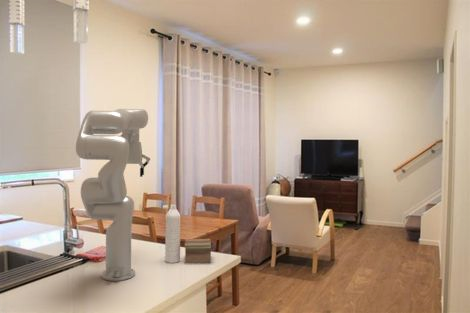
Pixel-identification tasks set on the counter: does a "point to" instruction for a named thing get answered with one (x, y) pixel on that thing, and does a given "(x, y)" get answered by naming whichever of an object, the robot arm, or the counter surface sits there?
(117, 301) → the counter surface
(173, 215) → the water bottle
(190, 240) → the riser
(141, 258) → the counter surface
